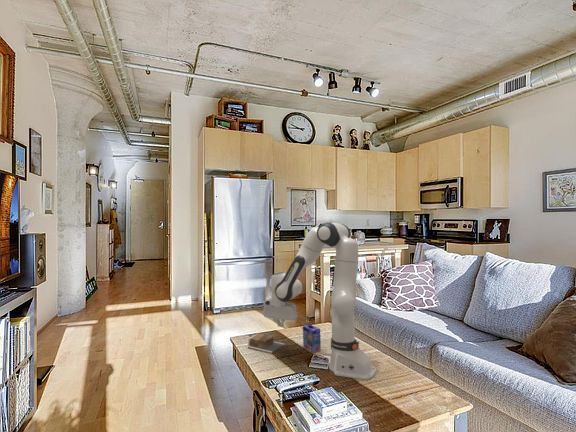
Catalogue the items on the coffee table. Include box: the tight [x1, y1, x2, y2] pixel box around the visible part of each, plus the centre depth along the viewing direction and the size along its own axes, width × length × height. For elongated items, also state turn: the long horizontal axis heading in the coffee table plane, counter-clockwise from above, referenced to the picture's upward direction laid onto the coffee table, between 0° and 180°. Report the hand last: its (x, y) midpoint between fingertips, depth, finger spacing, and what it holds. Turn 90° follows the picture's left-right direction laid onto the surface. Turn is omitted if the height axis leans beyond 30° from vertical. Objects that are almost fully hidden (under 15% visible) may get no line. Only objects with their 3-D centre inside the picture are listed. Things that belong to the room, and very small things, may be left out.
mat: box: [247, 340, 285, 355], centre depth 189 cm, size 16×14×1 cm
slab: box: [248, 333, 274, 349], centre depth 191 cm, size 4×9×11 cm
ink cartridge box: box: [302, 322, 322, 353], centre depth 186 cm, size 10×6×14 cm, turn 35°
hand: (280, 326), depth 184 cm, fingers closed
